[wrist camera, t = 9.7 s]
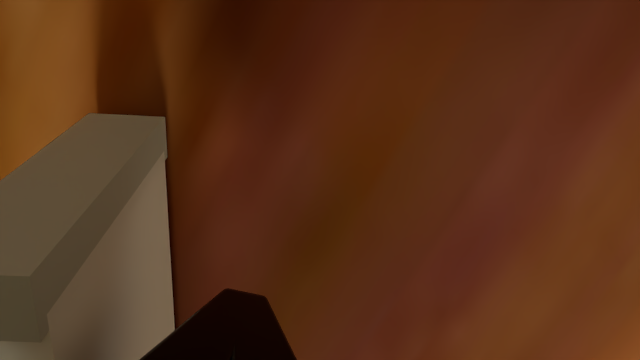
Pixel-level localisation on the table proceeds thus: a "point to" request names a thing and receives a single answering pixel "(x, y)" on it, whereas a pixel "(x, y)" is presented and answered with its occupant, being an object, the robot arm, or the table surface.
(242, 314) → the robot arm
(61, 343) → the off-white flat block
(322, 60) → the table surface
